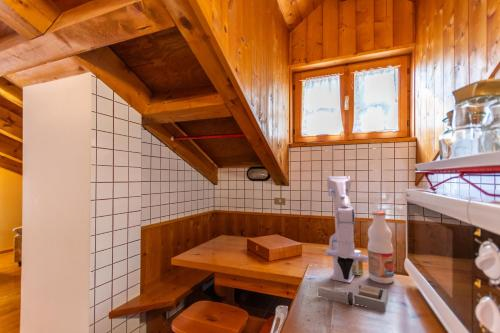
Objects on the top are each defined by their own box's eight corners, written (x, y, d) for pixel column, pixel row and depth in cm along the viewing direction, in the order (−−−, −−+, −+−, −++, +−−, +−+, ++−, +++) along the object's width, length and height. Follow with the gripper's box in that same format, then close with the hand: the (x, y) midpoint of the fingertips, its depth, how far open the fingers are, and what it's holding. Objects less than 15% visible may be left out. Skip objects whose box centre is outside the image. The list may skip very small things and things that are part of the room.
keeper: (353, 304, 85) (353, 292, 85) (352, 306, 83) (352, 294, 84) (319, 295, 91) (318, 284, 91) (317, 297, 90) (317, 286, 90)
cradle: (359, 292, 94) (359, 283, 94) (387, 298, 89) (387, 289, 89) (354, 304, 85) (354, 295, 85) (384, 312, 80) (384, 302, 80)
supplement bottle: (362, 271, 114) (361, 249, 114) (364, 275, 108) (363, 253, 109) (349, 270, 115) (348, 248, 115) (350, 274, 110) (350, 252, 110)
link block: (361, 296, 90) (361, 285, 91) (380, 301, 87) (380, 289, 87) (359, 302, 86) (358, 290, 87) (378, 307, 83) (378, 295, 83)
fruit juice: (370, 273, 111) (368, 210, 112) (395, 277, 106) (392, 211, 107) (367, 280, 103) (364, 212, 104) (393, 286, 98) (390, 214, 99)
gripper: (322, 240, 92) (323, 278, 92) (365, 246, 85) (366, 287, 84) (327, 236, 98) (328, 271, 98) (368, 241, 90) (369, 279, 90)
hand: (346, 278), depth 91 cm, fingers closed
